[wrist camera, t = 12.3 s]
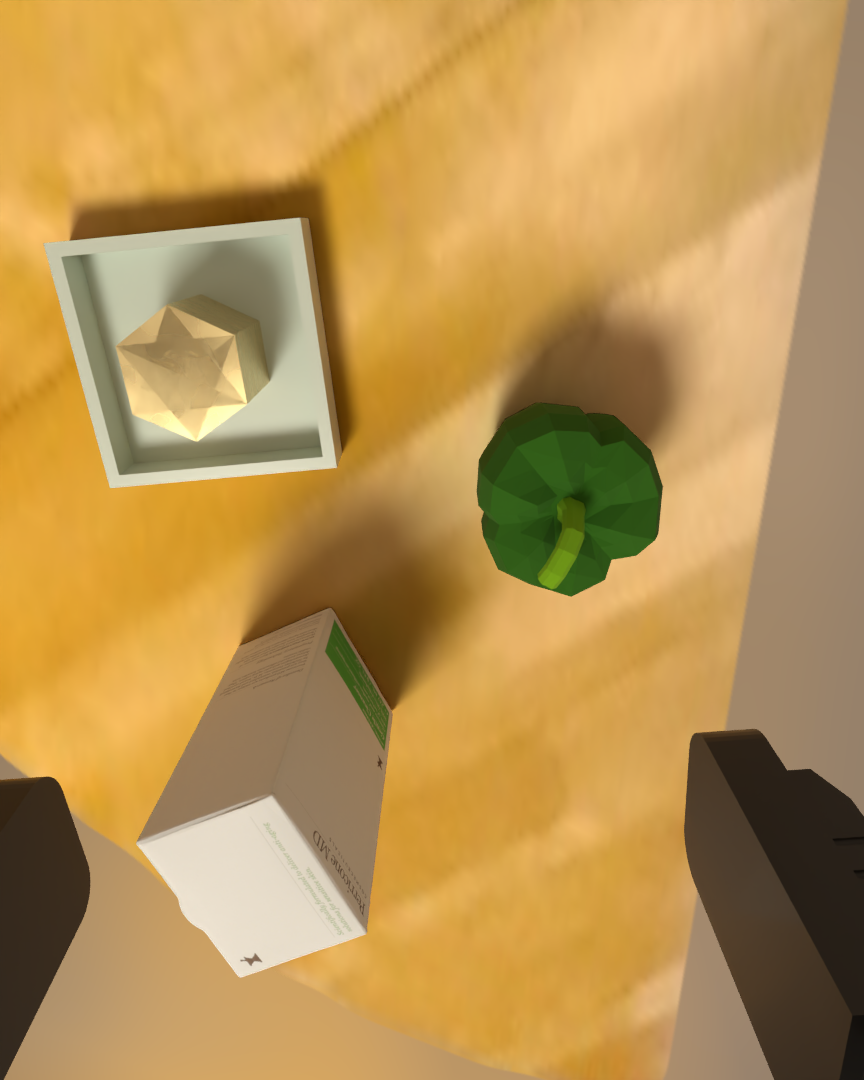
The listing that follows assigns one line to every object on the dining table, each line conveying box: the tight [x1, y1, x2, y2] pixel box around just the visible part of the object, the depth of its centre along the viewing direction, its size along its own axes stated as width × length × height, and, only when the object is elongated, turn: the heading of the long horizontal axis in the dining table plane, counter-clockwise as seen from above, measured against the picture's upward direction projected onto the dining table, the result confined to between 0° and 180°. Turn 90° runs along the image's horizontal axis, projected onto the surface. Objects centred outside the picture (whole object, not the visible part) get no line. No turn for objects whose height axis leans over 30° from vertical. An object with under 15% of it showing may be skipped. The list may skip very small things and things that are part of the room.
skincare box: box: [136, 608, 393, 977], centre depth 37 cm, size 8×7×16 cm
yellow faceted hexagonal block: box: [116, 294, 270, 442], centre depth 34 cm, size 6×5×5 cm
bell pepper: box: [477, 402, 663, 596], centre depth 34 cm, size 8×8×10 cm
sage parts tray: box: [44, 218, 342, 488], centre depth 36 cm, size 11×11×2 cm
